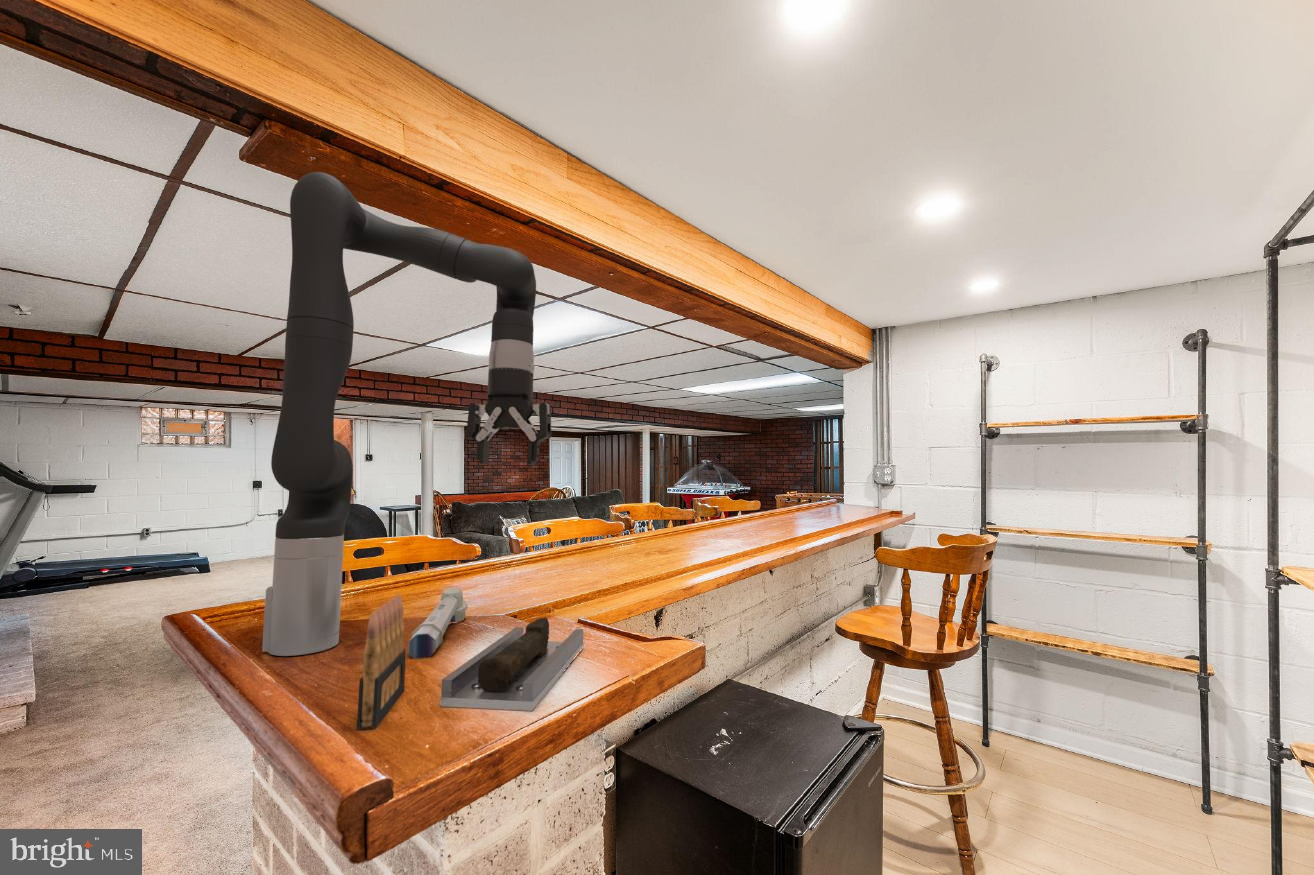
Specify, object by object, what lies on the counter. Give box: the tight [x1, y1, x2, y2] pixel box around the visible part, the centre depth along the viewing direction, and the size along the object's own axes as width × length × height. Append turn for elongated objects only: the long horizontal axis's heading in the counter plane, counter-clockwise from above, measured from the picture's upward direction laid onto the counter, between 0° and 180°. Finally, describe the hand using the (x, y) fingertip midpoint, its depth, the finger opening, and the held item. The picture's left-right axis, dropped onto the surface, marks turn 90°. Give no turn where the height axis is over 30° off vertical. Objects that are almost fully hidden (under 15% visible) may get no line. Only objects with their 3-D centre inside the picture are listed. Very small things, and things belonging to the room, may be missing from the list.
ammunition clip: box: [356, 593, 407, 731], centre depth 62 cm, size 11×2×12 cm, turn 10°
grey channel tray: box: [440, 626, 585, 712], centre depth 73 cm, size 11×23×3 cm, turn 174°
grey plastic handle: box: [407, 586, 468, 659], centre depth 91 cm, size 5×7×25 cm
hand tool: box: [478, 617, 550, 691], centre depth 73 cm, size 19×4×5 cm, turn 169°
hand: (507, 464), depth 91 cm, fingers open, 8 cm apart
